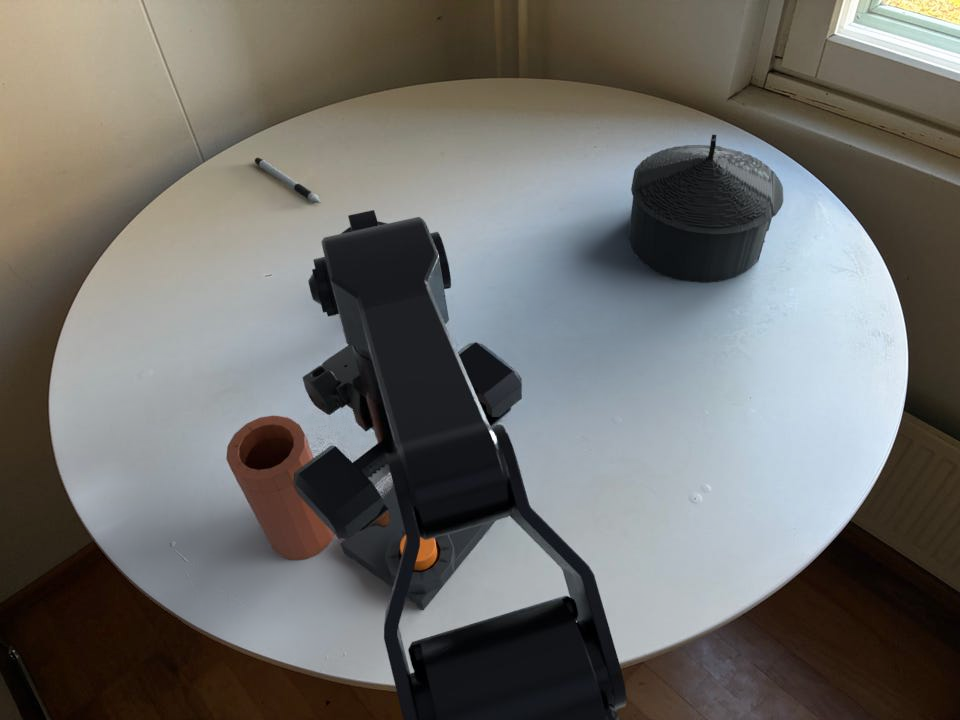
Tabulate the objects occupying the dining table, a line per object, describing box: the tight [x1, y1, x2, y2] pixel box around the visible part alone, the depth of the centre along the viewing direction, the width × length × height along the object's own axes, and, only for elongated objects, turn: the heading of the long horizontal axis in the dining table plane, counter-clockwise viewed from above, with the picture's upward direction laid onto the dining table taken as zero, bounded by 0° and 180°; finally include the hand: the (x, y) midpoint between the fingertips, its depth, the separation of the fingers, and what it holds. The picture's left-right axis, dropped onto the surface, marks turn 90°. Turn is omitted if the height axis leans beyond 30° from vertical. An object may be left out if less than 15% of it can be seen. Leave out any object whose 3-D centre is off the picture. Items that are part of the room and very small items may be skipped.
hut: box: [628, 134, 784, 284], centre depth 96 cm, size 18×18×15 cm
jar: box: [226, 414, 336, 561], centre depth 70 cm, size 7×7×14 cm
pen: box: [254, 157, 321, 204], centre depth 114 cm, size 1×16×1 cm, turn 45°
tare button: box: [400, 535, 437, 571], centre depth 69 cm, size 3×3×2 cm
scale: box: [340, 486, 497, 610], centre depth 73 cm, size 13×10×4 cm
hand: (424, 488), depth 65 cm, fingers open, 9 cm apart
